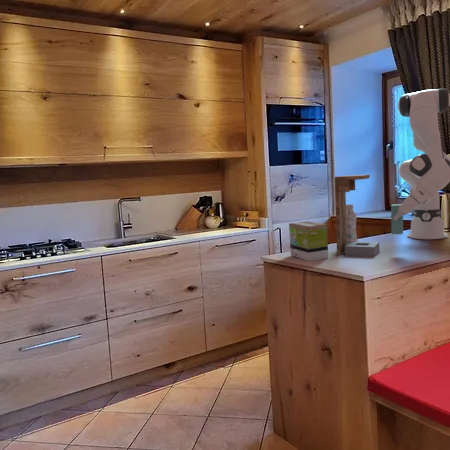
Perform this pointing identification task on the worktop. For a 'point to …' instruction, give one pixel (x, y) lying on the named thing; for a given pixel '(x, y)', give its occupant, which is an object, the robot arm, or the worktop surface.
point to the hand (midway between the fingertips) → (395, 218)
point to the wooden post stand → (343, 207)
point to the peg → (396, 224)
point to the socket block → (362, 249)
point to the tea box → (308, 240)
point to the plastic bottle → (351, 224)
